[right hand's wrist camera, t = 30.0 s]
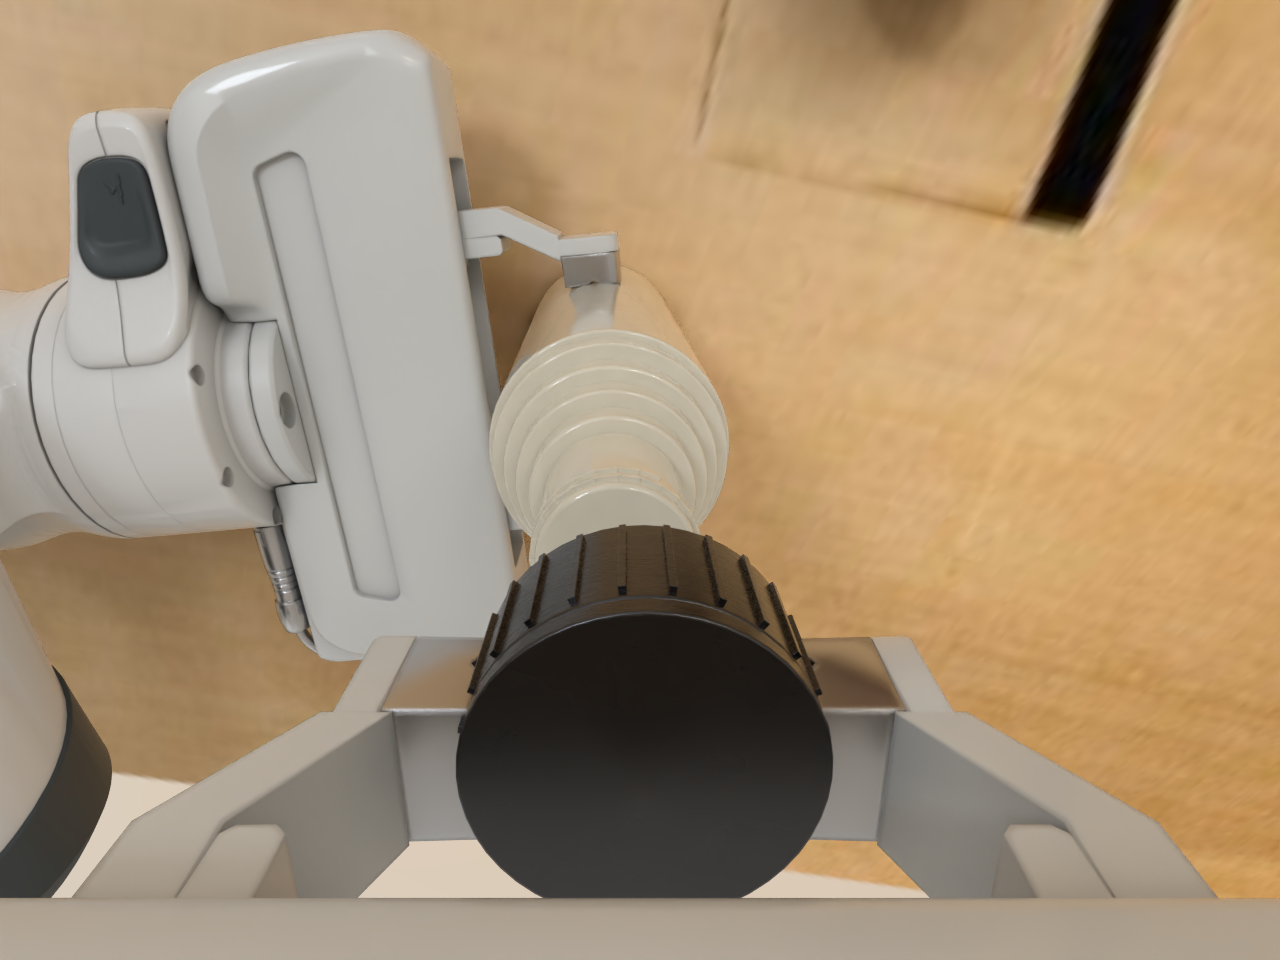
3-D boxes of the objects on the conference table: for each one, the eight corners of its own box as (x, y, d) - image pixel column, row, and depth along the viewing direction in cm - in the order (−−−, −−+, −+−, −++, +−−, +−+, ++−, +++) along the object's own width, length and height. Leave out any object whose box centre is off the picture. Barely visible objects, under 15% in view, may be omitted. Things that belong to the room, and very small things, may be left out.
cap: (476, 517, 9) (436, 605, 7) (811, 520, 10) (859, 608, 8) (491, 790, 11) (460, 926, 9) (785, 790, 11) (820, 925, 9)
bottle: (665, 255, 31) (776, 376, 12) (678, 393, 33) (792, 683, 14) (522, 272, 31) (412, 420, 12) (544, 410, 33) (478, 723, 14)
